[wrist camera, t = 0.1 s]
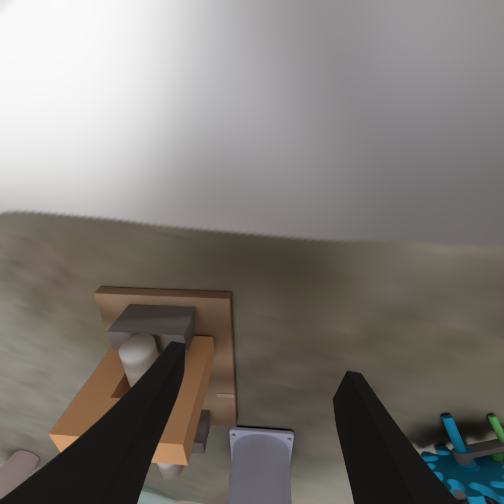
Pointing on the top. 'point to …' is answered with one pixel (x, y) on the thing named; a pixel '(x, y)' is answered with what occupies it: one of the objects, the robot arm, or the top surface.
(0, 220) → the top surface
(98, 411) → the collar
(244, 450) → the robot arm
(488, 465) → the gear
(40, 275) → the top surface
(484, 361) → the top surface
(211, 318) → the pipe rig
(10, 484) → the smoothie
